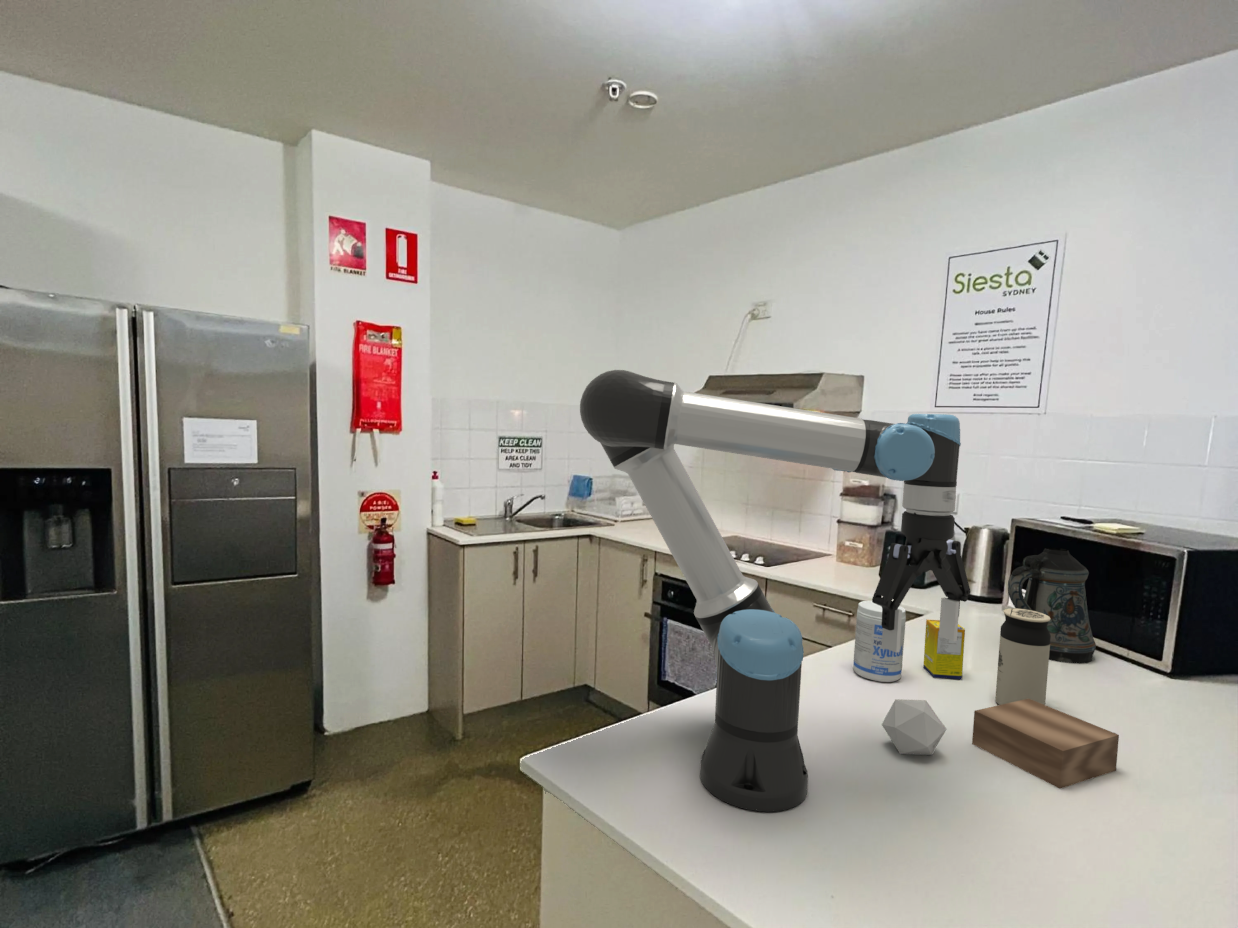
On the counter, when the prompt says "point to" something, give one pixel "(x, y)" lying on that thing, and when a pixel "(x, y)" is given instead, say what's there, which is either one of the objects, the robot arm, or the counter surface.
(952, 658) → the supplement box
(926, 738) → the die
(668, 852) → the counter surface
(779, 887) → the counter surface
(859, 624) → the supplement tub
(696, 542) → the robot arm
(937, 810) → the counter surface
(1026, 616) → the travel mug
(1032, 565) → the beer stein
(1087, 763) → the walnut block
